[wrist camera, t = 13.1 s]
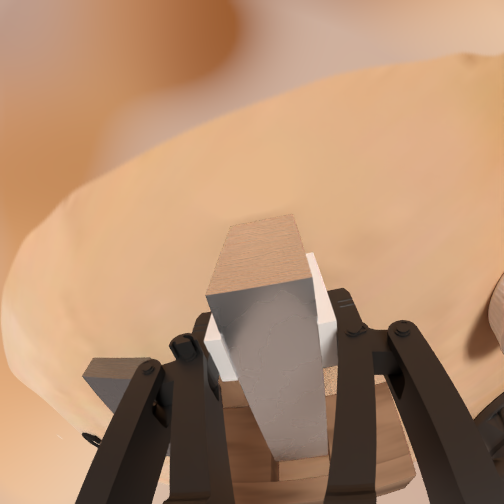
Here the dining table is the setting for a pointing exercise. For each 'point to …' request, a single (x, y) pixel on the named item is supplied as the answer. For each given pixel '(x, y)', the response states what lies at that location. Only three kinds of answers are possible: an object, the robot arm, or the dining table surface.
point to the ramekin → (497, 312)
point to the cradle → (112, 379)
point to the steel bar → (273, 333)
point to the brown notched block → (313, 489)
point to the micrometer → (92, 439)
